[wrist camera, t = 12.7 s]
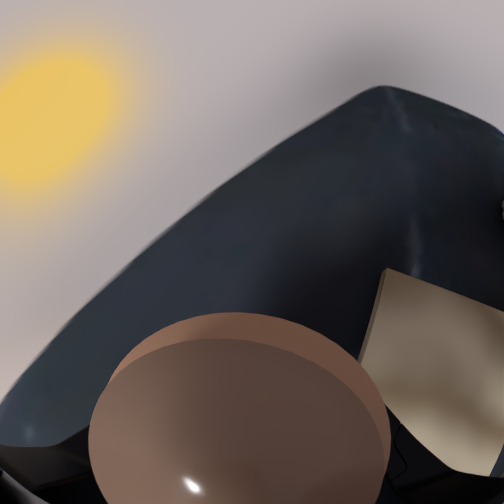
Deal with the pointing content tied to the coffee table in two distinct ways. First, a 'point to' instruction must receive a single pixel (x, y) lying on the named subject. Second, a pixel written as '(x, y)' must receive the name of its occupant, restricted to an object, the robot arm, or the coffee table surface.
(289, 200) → the coffee table surface
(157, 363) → the terracotta jar
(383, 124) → the coffee table surface
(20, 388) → the coffee table surface
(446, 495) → the robot arm
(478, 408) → the beige cloth
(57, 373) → the coffee table surface
